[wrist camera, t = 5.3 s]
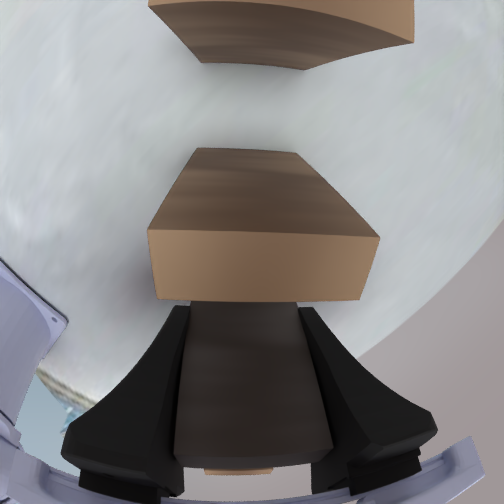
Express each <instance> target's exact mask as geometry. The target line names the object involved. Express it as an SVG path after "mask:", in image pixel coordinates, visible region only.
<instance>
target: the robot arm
mask: <svg viewBox="0 0 504 504" xmlns="http://www.w3.org/2000/svg"><path fill="white" fill-rule="evenodd" d="M298 313H299V317H300V320H301V324H302V328H303V330H304V333H305V336H306V339H307V343H308V347H309V351H310V354H311V358H312V362H313V366H314V370H315V374H316V378H317V381H318V385H319V389H320V393H321V397H322V401H323V405H324V410H325V414H326V418H327V422H328V426H329V430H330V435H331V439H332V443H333V449H332V450H331V451H330V452H329V453H328V454H326V455H325V456H324V457H323V458H322V459H321V460H320V461H319V462H315V463H311V489H312V495H307V496H301V497H294V498H286V499H276V500H266V501H265V500H264V501H246V502H245V501H244V502H214V501H194V500H183V499H173V498H169V496H170V497H177V496H179V495H181V494H182V493H183V492H184V471H183V467H182V466H181V465H180V463H179V462H178V460H177V459H176V457H175V455H174V443H175V430H176V418H177V407H178V397H179V387H180V378H181V370H182V361H183V353H184V346H185V338H186V333H187V329H188V323H189V316H190V306H178V305H175V306H174V307H173V309H172V311H171V313H170V314H169V316H168V318H167V320H166V322H165V323H164V325H163V327H162V328H161V330H160V332H159V333H158V335H157V336H156V338H155V339H154V341H153V342H152V344H151V345H150V347H149V348H148V349H147V351H146V352H145V353H144V355H143V356H142V357H141V359H140V360H139V361H138V363H137V364H136V365H135V366H134V367H133V369H132V370H131V371H130V372H129V373H128V374H127V376H126V377H125V378H124V379H123V380H122V381H121V382H120V383H119V384H118V385H117V386H116V387H115V388H114V389H113V390H112V391H111V392H110V393H109V394H108V395H106V396H105V397H104V398H103V399H102V400H101V401H99V402H98V403H97V404H96V405H95V406H94V407H92V408H91V409H90V410H88V411H87V412H86V413H84V414H83V415H81V416H80V417H78V418H77V419H76V420H74V421H73V422H71V423H70V424H69V427H68V429H67V431H66V434H65V437H64V441H63V445H62V449H61V455H62V457H63V458H64V459H65V460H67V461H68V462H69V463H71V464H73V465H74V466H76V467H77V468H79V469H80V470H81V472H80V477H77V476H74V475H71V474H68V473H65V472H63V471H60V470H57V469H55V468H53V467H50V466H49V465H48V464H46V463H45V462H43V461H41V460H40V459H38V458H36V457H34V456H31V455H29V454H27V453H25V452H24V449H23V447H22V445H21V444H20V442H19V441H20V438H21V433H20V432H19V431H18V430H17V429H15V428H14V426H15V424H16V421H17V418H18V415H19V412H20V409H21V406H22V403H23V401H24V398H25V395H26V393H27V391H28V388H29V386H30V383H31V381H32V378H33V376H34V374H35V371H36V369H37V367H38V365H39V362H40V360H41V359H44V357H45V356H46V354H47V353H48V351H49V350H50V349H51V347H52V346H53V344H54V343H55V341H56V340H57V339H58V337H59V336H60V334H61V333H62V332H63V330H64V329H65V328H66V326H67V321H66V319H65V318H64V317H62V316H61V315H60V314H59V313H57V312H56V311H55V310H54V309H52V308H51V307H50V306H49V305H47V304H46V303H45V302H44V301H43V300H42V299H40V298H39V297H38V296H37V295H36V294H35V293H33V292H32V291H31V290H30V289H29V288H28V287H27V286H26V285H25V284H23V283H22V282H21V281H20V280H19V279H18V278H17V277H16V276H15V275H14V274H13V273H12V272H11V271H10V270H9V269H8V268H7V267H6V266H5V265H4V264H3V263H2V262H1V261H0V504H15V503H19V504H342V503H346V502H350V501H353V500H357V499H359V500H358V501H357V504H446V503H448V502H449V501H451V500H452V499H453V498H455V497H456V496H458V495H459V494H460V493H462V492H463V491H465V490H466V489H468V488H469V487H470V486H472V485H473V484H475V483H476V482H477V481H479V480H480V479H481V478H483V477H484V476H485V472H484V469H483V466H482V464H481V461H480V458H479V455H478V453H477V450H476V448H475V445H474V443H473V440H472V438H471V436H468V437H466V438H465V439H463V440H461V441H459V442H457V443H456V444H454V445H452V446H450V447H449V448H447V449H446V450H445V451H443V452H442V453H441V454H438V455H436V456H434V457H432V458H430V459H428V460H426V461H423V462H421V463H420V462H419V459H418V456H419V455H421V452H420V449H419V447H420V446H422V445H423V444H424V443H426V442H427V441H428V440H430V439H431V438H432V437H433V436H435V435H436V433H437V431H438V429H437V426H436V424H435V421H434V419H433V417H432V414H431V412H429V411H427V410H425V409H423V408H421V407H419V406H417V405H416V404H413V403H412V402H410V401H408V400H407V399H405V398H403V397H402V396H400V395H398V394H397V393H396V392H394V391H393V390H391V389H390V388H389V387H387V386H386V385H384V384H383V383H382V382H381V381H379V380H378V379H377V378H375V377H374V376H373V375H372V374H371V373H370V372H368V371H367V370H366V369H365V368H364V367H363V366H362V365H361V364H360V363H359V362H358V361H357V360H356V359H355V358H354V357H353V356H352V355H351V354H350V353H349V352H348V350H347V349H346V348H345V347H344V346H343V345H342V344H341V342H340V341H339V340H338V339H337V338H336V336H335V335H334V334H333V333H332V332H331V330H330V329H329V328H328V326H327V325H326V324H325V323H324V321H323V320H322V319H321V317H320V316H319V315H318V313H317V312H316V311H315V309H314V308H313V307H299V308H298Z"/></svg>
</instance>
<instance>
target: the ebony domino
mask: <svg viewBox="0 0 504 504" xmlns="http://www.w3.org/2000/svg"><path fill="white" fill-rule="evenodd" d="M332 449H333V443H332V439H331V435H330V430H329V426H328V422H327V418H326V414H325V410H324V405H323V401H322V397H321V393H320V389H319V385H318V381H317V378H316V374H315V370H314V366H313V362H312V358H311V354H310V351H309V347H308V343H307V339H306V336H305V333H304V330H303V328H302V324H301V320H300V317H299V313H298V306H297V303H296V302H225V301H191V304H190V316H189V323H188V329H187V333H186V338H185V346H184V353H183V361H182V370H181V378H180V387H179V397H178V407H177V418H176V430H175V443H174V455H175V457H176V459H177V460H178V462H179V463H180V465H181V466H182V467H189V468H204V469H256V468H272V467H282V466H293V465H300V464H308V463H315V462H319V461H320V460H321V459H322V458H323V457H324V456H325V455H326V454H328V453H329V452H330V451H331V450H332Z"/></svg>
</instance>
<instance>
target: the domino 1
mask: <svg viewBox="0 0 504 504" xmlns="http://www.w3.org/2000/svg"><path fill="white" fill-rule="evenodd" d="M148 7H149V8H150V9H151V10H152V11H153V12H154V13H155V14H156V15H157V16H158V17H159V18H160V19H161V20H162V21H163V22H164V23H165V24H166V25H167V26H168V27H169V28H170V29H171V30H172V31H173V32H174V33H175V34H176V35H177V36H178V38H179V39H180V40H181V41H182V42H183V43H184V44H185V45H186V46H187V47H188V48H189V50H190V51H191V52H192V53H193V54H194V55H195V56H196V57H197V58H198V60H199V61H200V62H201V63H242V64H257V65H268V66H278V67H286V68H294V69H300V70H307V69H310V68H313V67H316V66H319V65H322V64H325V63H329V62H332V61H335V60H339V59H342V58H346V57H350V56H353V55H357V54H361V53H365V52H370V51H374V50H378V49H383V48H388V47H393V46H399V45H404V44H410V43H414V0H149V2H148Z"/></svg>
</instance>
